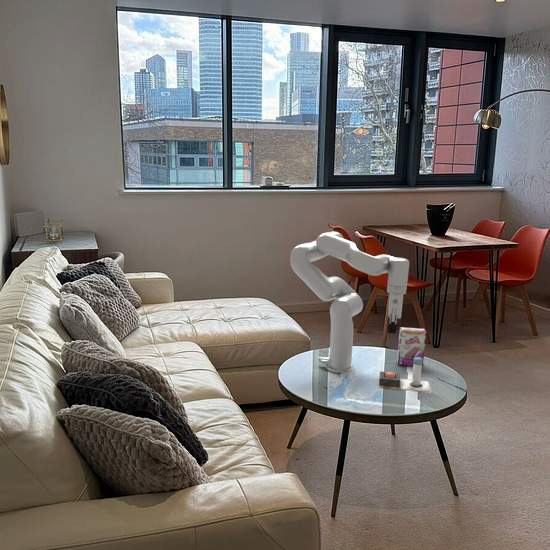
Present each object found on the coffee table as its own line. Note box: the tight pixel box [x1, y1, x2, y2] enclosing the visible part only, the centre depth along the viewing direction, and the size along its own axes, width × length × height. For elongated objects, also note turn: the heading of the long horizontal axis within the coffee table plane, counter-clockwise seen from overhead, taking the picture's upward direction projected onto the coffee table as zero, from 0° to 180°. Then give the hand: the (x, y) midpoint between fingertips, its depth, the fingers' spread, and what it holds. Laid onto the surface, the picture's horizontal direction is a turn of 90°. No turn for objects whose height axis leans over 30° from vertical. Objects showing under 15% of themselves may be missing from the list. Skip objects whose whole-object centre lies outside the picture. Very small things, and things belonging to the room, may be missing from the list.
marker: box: [411, 357, 424, 386], centre depth 231 cm, size 3×3×11 cm
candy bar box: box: [396, 326, 427, 368], centre depth 257 cm, size 11×5×16 cm, turn 84°
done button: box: [384, 371, 396, 378], centre depth 233 cm, size 4×4×4 cm
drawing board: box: [378, 371, 432, 394], centre depth 232 cm, size 20×12×4 cm, turn 79°
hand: (391, 332), depth 235 cm, fingers closed
